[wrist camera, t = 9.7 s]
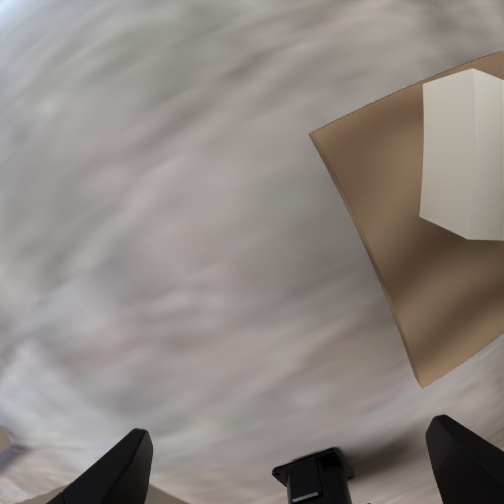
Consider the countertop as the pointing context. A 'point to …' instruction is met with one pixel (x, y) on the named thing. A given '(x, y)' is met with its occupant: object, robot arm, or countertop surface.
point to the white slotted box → (464, 154)
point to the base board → (415, 231)
